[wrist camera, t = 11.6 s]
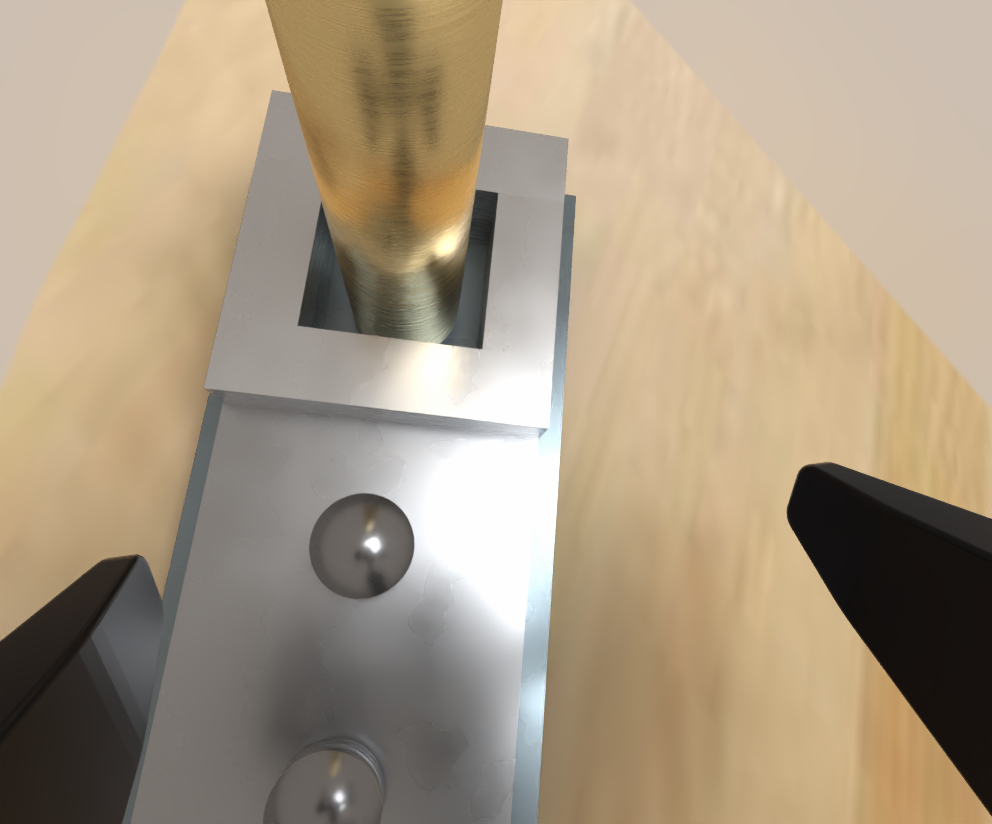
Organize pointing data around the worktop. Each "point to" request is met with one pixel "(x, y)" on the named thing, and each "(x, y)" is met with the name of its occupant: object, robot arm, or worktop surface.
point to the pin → (393, 144)
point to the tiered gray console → (368, 525)
